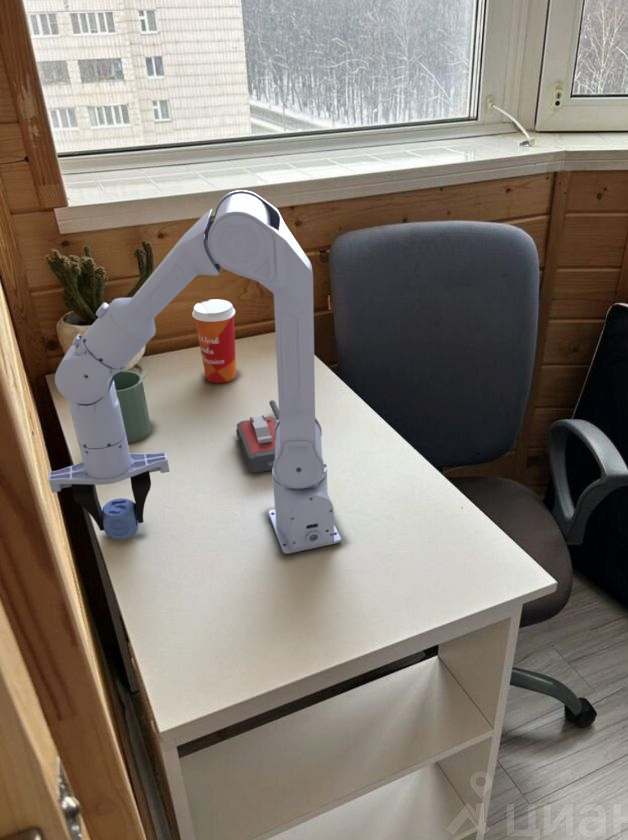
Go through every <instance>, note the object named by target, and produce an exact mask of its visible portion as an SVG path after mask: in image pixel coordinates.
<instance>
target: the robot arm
mask: <svg viewBox="0 0 628 840" xmlns="http://www.w3.org/2000/svg"><path fill="white" fill-rule="evenodd" d="M212 213H213V209H212V208H211V209H210V210H208V211H207V212H205V213H204V214H203V215H202V216H201V217H200V218H199V219H198V220H197V221H196V222H195V223H194V224H193V225H192V226H191V227H190V228H189V229H188V230H187V231H186V232H185V233H184V234H183V235H182V236H181V238H179V240H178V241H177V242H176V244H175V245H174V246H173V247H172V248H171V250H170V251H169V252H168V253H167V254H166V256H165V257H164V258H163V260H162V261H161V262H160V263H159V264H158V266H157V267H156V268H155V270H154V271H153V272H152V273H151V274H150V275H149V277H148V278H147V279H146V281H145V282H144V283H143V284H142V285H141V287H140V288H139V289H138V290H137V291H136V292H135V294H134V295H133V296H132V297H131V296H130V297H118V298H114V299H113V300H112V301H111V302H110V303H109V304H108V303H107V302H103V303H102V304H101V305H100V306H99V307H98V309H97V310H96V312H95V316H96V317H97V319H95V321H94V322H93V323H92V324H91V325H90V326H89V327H88V329H87V330H86V331H85V332H84V333H83V334H81V333H78V334H77V335H76V336H74V338H73V340H72V341H71V344H72V345H70V346H69V348H68V349H67V351H66V352H65V355H64V356H63V358H62V359H61V361H60V362H59V365H58V367H57V368H56V371H55V374H54V384H55V387H56V389H57V391H58V392H59V393H60V395H61V396H62V397H63V398H65V399H66V400H67V403H68V407H69V412H70V416H71V420H72V424H73V428H74V433H75V435H76V440H77V443H78V448H79V451H80V456H81V460H82V461H81V462H78V463H75V464H73V465H70V466H67V467H64V468H61V469H57V470H53V471H49V472H48V480H47V481H48V484H49V488H50V491H51V493H59V492H61V491H62V489H66V488H72V495H73V499H74V501H75V502H76V503H77V504H78V505H80V506H81V507H82V508H83V509H85V511H86V512H87V513H88V514H89V515H90V516H91V517H92V520H94V522H95V523H96V525H97V527H98V529H99V531H100V532H102V531H105V530H104V525H103V517H102V510H103V507H102V505H101V502H100V500H99V496H98V492H97V487H96V485H103V486H104V485H111V484H116V483H119V482H122V481H125V480H127V479H129V480H130V485H131V491H132V495H133V499H134V503H135V505H136V513H137V520H138V524H142V523H144V510H145V504H146V501H147V497H148V494H149V492H150V490H151V487H152V480H151V479H152V478H151V474H150V473H156V472H160V473H161V474H166V473H169V472H170V466H169V461H168V456H167V452H156V453H147V452H146V453H141V452H140V453H139V452H135V453H134V452H130V447H129V443H128V442H127V437H126V432H125V428H124V423H123V418H122V414H121V409H120V404H119V400H118V398H117V393H116V388H115V384H114V381H113V380H112V377H113V376H114V375H115V374H116V373H118V372H120V371H124V369H125V368H126V367H127V366H128V364H129V363H130V362H131V361H132V360H133V359H134V358H135V357H136V356H137V355H138V354H139V352H140V351H141V350H142V349H143V348H144V347H145V346H146V345H147V344H148V343H149V342H150V341H151V340H152V338H154V336H155V335H156V333H157V331H156V329H157V328H156V323H155V322H156V321H155V318H156V317H157V316H158V315H159V314H160V313H161V312H162V311H163V310H164V309H165V308H166V307H167V306H168V305H169V304H170V303H171V302H172V301H173V300H174V299H175V298H176V297H177V296H178V295H179V294H180V293H181V292H182V291H183V290H184V289H185V288H186V287H187V286H188V285H189V284H190V283H191V282H192V281H193V280H194V279H195V278H196V277H197V276H219V275H220V274H221V270H222V268H223V269H224V270H226V271H228V272H230V273H233V274H236V275H238V276H242V277H244V278H247V279H250V280H252V281H256V282H258V283H259V284H260V285H262V286H263V287H265V288H266V289H267V290H269V292H271V293H272V294H273V307H274V308H273V309H274V329H275V333H274V334H275V352H276V374H277V376H276V377H277V391H278V393H277V396H278V409H279V420H278V422H277V424H276V426H275V438H276V439H275V460H274V464H273V468H272V470H271V472H272V486H273V487H272V489H273V500H274V501H273V502H274V509H269V510H268V516H269V517H268V518H269V520H270V521H271V526H272V528H273V530H274V533H275V536H276V537H277V540H278V543H279V546H280V548H281V551H282V553H283V554H285V555H288V554H294V553H299V552H302V551H306V550H307V551H308V550H312V549H316V548H320V547H326V546H330V545H334V544H338V543H341V542H342V537H341V535H340V533H339V531H338V529H337V527H336V525H335V517H334V516H335V513H334V505H333V502H332V500H331V498H330V496H329V492H328V467H327V463H326V461H324V458H323V447H322V435H323V434H322V433H323V432H322V430H323V429H322V426H321V423H320V421H319V420H318V419H317V417H316V391H315V390H316V388H315V385H316V383H315V382H316V381H315V380H316V379H315V320H314V318H315V317H314V311H315V310H314V272H313V266H312V262H311V261H310V259H309V258H308V256H307V254H306V253H305V251H304V250H303V249H302V247H301V245H300V244H299V242H298V241H297V239H296V238H295V237H294V235H293V233H292V232H291V231H290V229H289V228H288V226H287V224H286V223H285V221H284V219H283V217H282V215H281V213H280V211H279V209H278V208H277V207H275V206H273V205H272V204H271V203H269V202H268V201H267V200H266V199H264V198H263V197H261V196H260V195H258V194H257V193H255V192H254V191H250V190H247V189H246V190H245V189H237V190H234V191H231V192H228V193H227V194H225V195H224V196H223V197H222V198H221V199H220V200H219V202H218V203H217V205H216V209H215V212H214V219H212Z"/></svg>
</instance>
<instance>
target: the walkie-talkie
mask: <svg viewBox="0 0 628 840" xmlns="http://www.w3.org/2000/svg"><path fill="white" fill-rule="evenodd" d="M268 404H269V406H270V409H271V411H272V413H273V415H274V417H272V416H265V415H256V416H250V417H249V419H246V420H241V421H240V422H238V423H236V429H235V431H236V436H237V439H238V442H239V445H240V448H241V449H242V452H243V456H244V458H245V460H246V463H247V466H248V468H249V471H250V472H252V473H255V474H257V473H263V472H269V471H272V468H273V464H274V460H275V439H276V438H275V426H276V424H277V422H278V420H279V406H278V405H277V403H276V401H275V400H274V399H273V400H272V399H271V400H270V401H269V403H268Z"/></svg>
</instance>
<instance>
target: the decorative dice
mask: <svg viewBox="0 0 628 840" xmlns="http://www.w3.org/2000/svg"><path fill="white" fill-rule="evenodd" d="M102 517H103V525H104V530H103V531H104V533H105V535H106V536H108V537H110V538H111V539H114V540H125V539H128V538H129V539H130V538H131V537H132V536H134V535H135V534H136V533H137V532H138V531H139V527H140V525H139V524H140V523H138V520H137V513H136V505H135V501H133V500H131V499H129V498H123V497H122V498H119V497H118V498H114V499H112V500H110V501H107V503H105V504H104V506H103V507H102Z"/></svg>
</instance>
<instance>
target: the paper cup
mask: <svg viewBox="0 0 628 840" xmlns="http://www.w3.org/2000/svg"><path fill="white" fill-rule="evenodd" d="M235 314H236V309H235V308H234V306H233V304H232V302H230V301H228V300H225V299H219V298H216V299H214V298H213V299H208V300H204V301H200V302H197V303H195V305H194V306H193V310H192V313H191V316H192V318H193V319H194V324H195V328H196V333H197V339H198V344H199V349H200V354H201V358H202V365H203V370H204V374H205V378H206V380H207V381H208V382H210V383H215V384H224V383H228V382H231V381H233V380H234V379H235V378H236V377H237V362H236V359H237V358H236V336H235V335H236V334H235Z"/></svg>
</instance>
